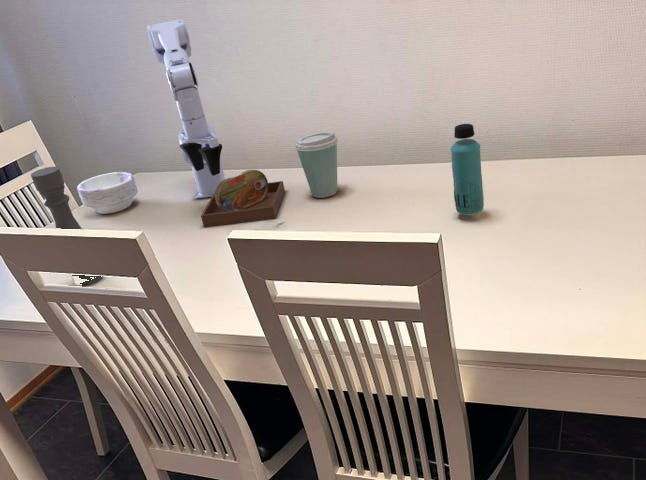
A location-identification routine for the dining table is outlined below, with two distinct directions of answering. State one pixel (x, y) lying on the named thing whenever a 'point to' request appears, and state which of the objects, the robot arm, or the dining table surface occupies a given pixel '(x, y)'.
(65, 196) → the candle holder
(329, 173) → the disposable coffee cup
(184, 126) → the robot arm
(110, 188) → the paper bowls
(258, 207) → the tray
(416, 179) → the dining table surface
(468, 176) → the beverage bottle
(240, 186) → the tin
